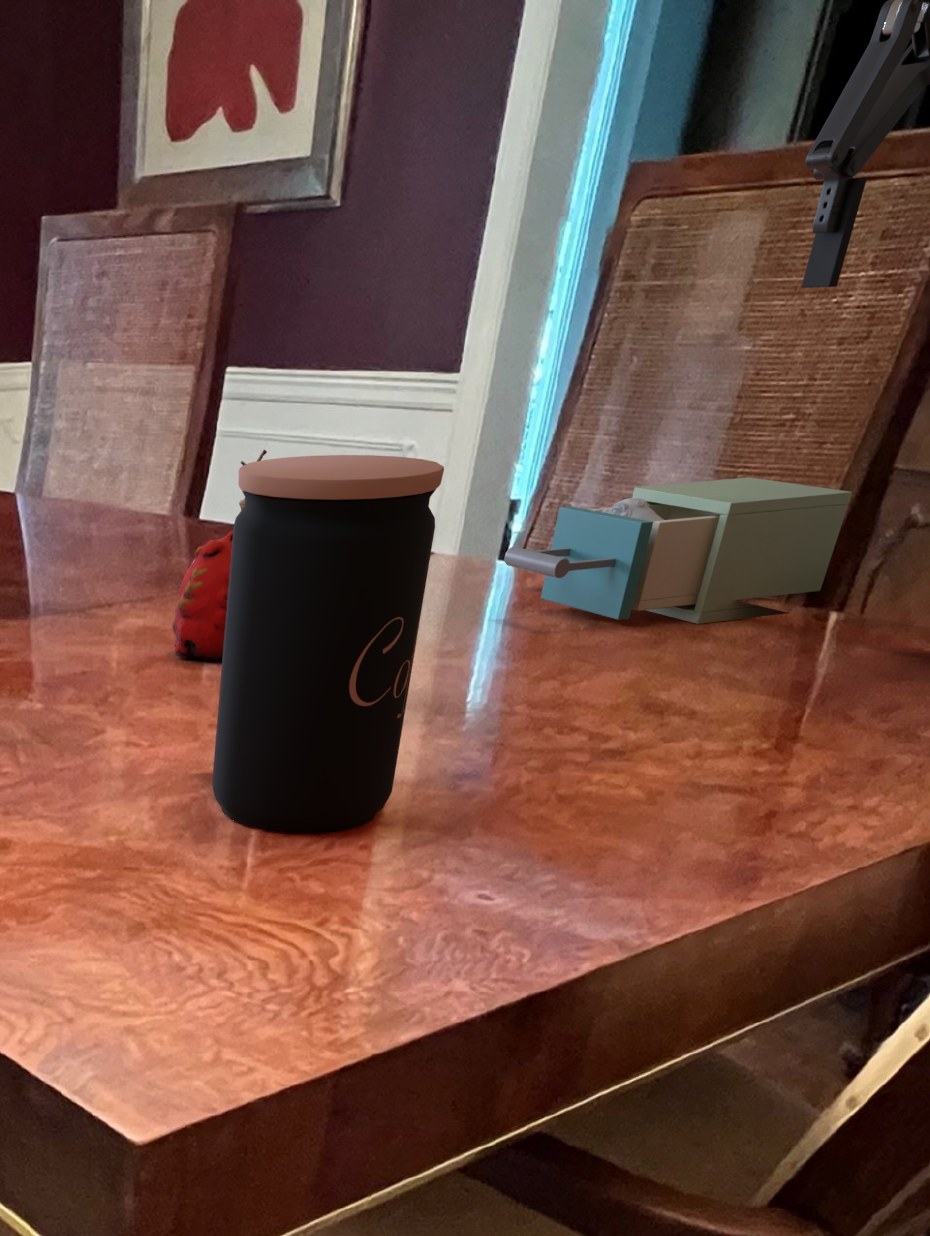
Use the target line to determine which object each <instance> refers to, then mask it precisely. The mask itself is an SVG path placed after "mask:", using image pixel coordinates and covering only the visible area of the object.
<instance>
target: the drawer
mask: <svg viewBox="0 0 930 1236" xmlns="http://www.w3.org/2000/svg"><path fill="white" fill-rule="evenodd" d="M648 506H649V507H650V509H652V510H653V511H654V512H655V513H656V514H657V515H659V517H661V518H662V519H664V520H662V521H654V522H652V521H647V520H642V519H636V518H631V517H626V516H620V515H615V514H610V513H604V512H602V511H603V510H604V509H607V508H611V507H612V506H611V507H609V506H608V507H601V508H600V507H598V508H590V509H587V508H582V507H577V506H572V505H568V506H560V507H559V510H558V514H557V517H556V519H557V520H556V524H555V528H554V534H553V537H552V543H551V548H548V549H547V548H546V549H538V550H532V549H527V548H523V547H519V546H511V547H510V548H507V550H506V552H505V554H504V558H503V560H504V564H505V565H506V566H509V567H511V568H512V567H513V568H516V569H519V570H520V569H522V570H525V571H529V572H533V573H536V574H541V575H544V581H543V585H542V590H541V594H540V599H541V600H545V601H547V602H552V603H555V604H559V605H562V606H567V607H570V608H574V609H577V610H581V611H585V612H588V613H591V614H596V615H599V616H603V617H607V618H610V619H614V620H617V621H619V620H628V619H630V617H631V614H632V613H631V612H632V610H633V611H637V612H639V611H640V612H641V611H646V610H650V609H658V608H667V607H676V606H685V605H694V604H696V602H697V598H698V595H699V591H700V587H701V584H702V580H703V576H704V573H705V569H706V565H707V562H708V558H709V555H710V551H711V547H712V544H713V540H714V536H715V533H716V529H717V525H718V522H719V518H720V515H721V514H718V513H712V512H707V511H701V510H695V509H689V508H683V507H678V506H672V505H666V504H660V503H653V504H648ZM652 525H653V526H652ZM651 529H652V530H651ZM650 533H651V534H650ZM649 537H650V538H649ZM648 541H649V542H648ZM647 545H648V546H647ZM646 549H647V551H646ZM645 553H646V555H645ZM644 557H645V559H644ZM643 561H644V563H643ZM642 565H643V567H642ZM641 569H642V571H641ZM640 573H641V575H640ZM639 577H640V579H639ZM638 581H639V583H638ZM637 585H638V586H637Z"/></svg>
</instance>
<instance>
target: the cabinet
mask: <svg viewBox="0 0 930 1236" xmlns="http://www.w3.org/2000/svg"><path fill="white" fill-rule="evenodd" d="M852 494H853V492H852V491H848V490H841V489H834V488H827V487H821V486H820V487H819V486H813V485H805V484H799V483H793V482H792V483H791V482H784V481H777V480H770V479H764V478H758V477H757V478H756V477H739V478H737V477H736V478H726V479H716V480H714V479H713V480H704V481H693V482H683V483H682V482H680V483H671V484H658V485H648V486H646V485H645V486H635V487H634V489H633V493H632V497H631V498H641V499H644V500H646V501H647V502H648V504H653V503H660V504H666V505H672V506H678V507H683V508H689V509H695V510H701V511H707V512H712V513H718V514H721V515H720V518H719V522H718V525H717V529H716V533H715V536H714V540H713V544H712V547H711V551H710V555H709V558H708V562H707V565H706V569H705V573H704V576H703V580H702V584H701V587H700V591H699V595H698V598H697V602H696V604H694V605H685V606H676V607H667V608H658V609H650V610H645V611H646V612H649V613H650V612H651V613H654V614H658V615H660V616H661V615H662V616H665V617H668V618H669V617H670V618H673V619H677V620H681V621H685V622H689V623H692V624H696V625H703V624H710V623H719V622H728V621H736V620H743V619H752V618H761V617H770V616H779V615H787V614H789V612H788V611H784V610H783V611H782V610H779V609H774V608H770V607H766V606H762V605H757V604H754V603H749V602H746V601H745V602H744V601H740V600H750V599H759V598H768V597H775V596H776V597H777V596H785V595H795V594H805V593H812V592H821V590H822V587H823V584H824V581H825V577H826V574H827V572H828V568H829V566H830V562H831V559H832V555H833V553H834V550H835V546H836V544H837V540H838V537H839V533H840V531H841V528H842V525H843V522H844V519H845V515H846V512H847V510H848V507H849V504H850V501H851V499H852V498H851V497H852Z"/></svg>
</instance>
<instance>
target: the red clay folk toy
mask: <svg viewBox="0 0 930 1236" xmlns="http://www.w3.org/2000/svg"><path fill="white" fill-rule="evenodd" d="M267 453H268V451H267V450H266V449H263V450H262V452H261V453H260V455H259V456H258V458H257V459H256V461H255V462H257V461H262V460H263V458H264V456H265V455H266V454H267ZM240 464H241V466H244V465H246V464H247V463H245V461H243V460H241V461H240ZM238 505H239V507H240V511H241V510H242V509H243V508H244V507H245V497H244V498H243V499H240V501H238ZM232 540H233V530H230V532H228V534H227V535H225V536H224V537H222V538H219V539H210V540H208V541H207V542H206V543H205V544H204V545H202V546H199V547H197V549H196V550H195V552H194V560H193V561H192V562H191V564H190V566H189V567H188V569H187V571H186V572H185V573H184V576H183V579H182V581H181V582H182V583H181V585H180V589H179V594H178V600H177V602H176V603H175V605H174V606H175V608H174V618H173V620H172V630H173V633H174V634H175V642H174V654H175V656H177V657H179V658H185V659H187V658H188V659H192V658H193V657H194V658H197V659H202V660H204V661H208V662H209V661H210V662H211V661H214V662H218V661H222V659H223V647H224V635H225V623H226V611H227V599H228V587H229V575H230V563H231V552H232Z"/></svg>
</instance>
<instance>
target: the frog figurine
mask: <svg viewBox="0 0 930 1236" xmlns="http://www.w3.org/2000/svg"><path fill="white" fill-rule="evenodd" d="M606 508H607V509H604V510H603V511H602V512H604V513H610V514H615V515H620V516H626V517H631V518H636V519H642V520H647V521H652V522H654V521H662V520H664V519H662V518H661V517H659V515H657V514H656V513H655V512H654V511H653V510H652V509H650V507H649V506H648V502H647V501H646V500H644V499H641V498H632V497H629V498H625V499H623V500H619V501H617V502H615V503H614V504H613V505H612V506H611V508H609V507H606ZM652 526H653V525H652ZM651 530H652V529H651ZM650 534H651V533H650ZM649 538H650V537H649ZM648 542H649V541H648ZM647 546H648V545H647ZM646 551H647V549H646ZM645 555H646V553H645ZM644 559H645V557H644ZM643 563H644V561H643ZM642 567H643V565H642ZM641 571H642V569H641ZM640 575H641V573H640ZM639 579H640V577H639ZM638 583H639V581H638ZM637 586H638V585H637Z"/></svg>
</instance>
